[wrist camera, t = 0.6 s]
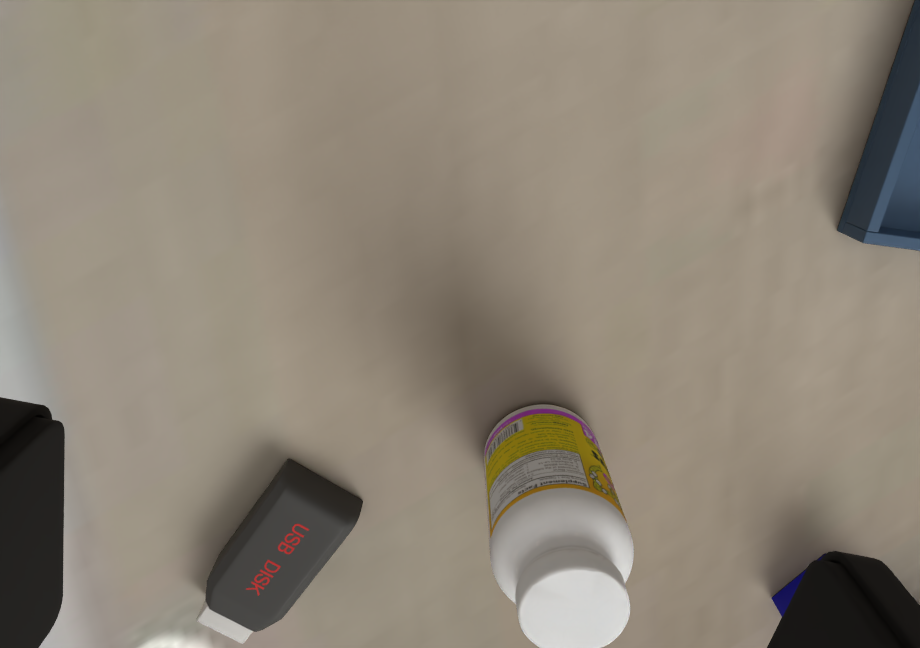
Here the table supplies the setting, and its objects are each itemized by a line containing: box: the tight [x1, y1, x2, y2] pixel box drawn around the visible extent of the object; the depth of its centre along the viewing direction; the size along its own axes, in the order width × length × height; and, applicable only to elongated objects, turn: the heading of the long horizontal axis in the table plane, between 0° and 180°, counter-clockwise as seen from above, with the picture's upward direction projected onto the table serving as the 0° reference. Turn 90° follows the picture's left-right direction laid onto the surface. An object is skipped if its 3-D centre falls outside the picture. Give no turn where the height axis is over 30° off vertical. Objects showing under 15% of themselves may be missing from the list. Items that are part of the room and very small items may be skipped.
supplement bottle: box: [484, 404, 634, 648], centre depth 35 cm, size 7×7×13 cm
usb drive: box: [197, 459, 363, 644], centre depth 42 cm, size 5×12×3 cm, turn 145°
